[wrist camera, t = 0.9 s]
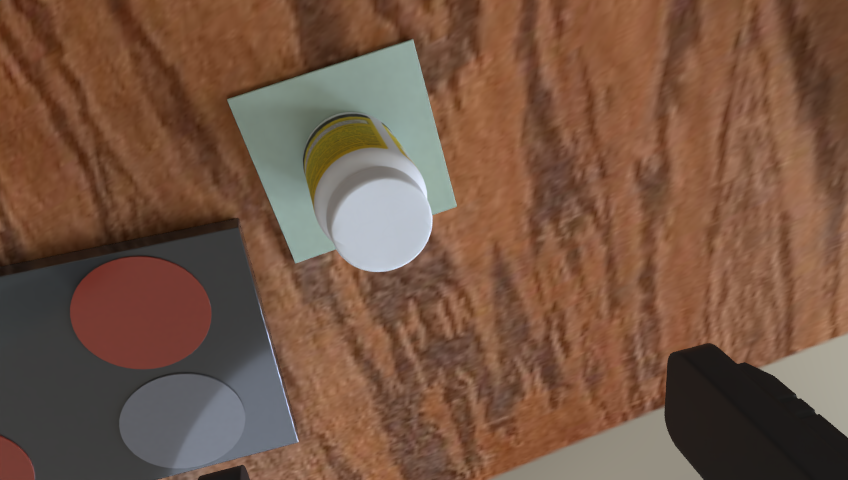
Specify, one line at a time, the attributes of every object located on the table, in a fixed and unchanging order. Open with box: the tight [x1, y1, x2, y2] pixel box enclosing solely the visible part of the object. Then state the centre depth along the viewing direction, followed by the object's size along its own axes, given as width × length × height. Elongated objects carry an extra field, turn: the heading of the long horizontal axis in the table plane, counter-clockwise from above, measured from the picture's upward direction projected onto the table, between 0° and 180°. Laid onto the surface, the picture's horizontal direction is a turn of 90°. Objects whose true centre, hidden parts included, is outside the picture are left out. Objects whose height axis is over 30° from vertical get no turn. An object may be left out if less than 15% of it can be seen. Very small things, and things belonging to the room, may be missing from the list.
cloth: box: [227, 39, 457, 263], centre depth 32 cm, size 9×9×1 cm
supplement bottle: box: [303, 112, 432, 272], centre depth 28 cm, size 5×5×8 cm
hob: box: [0, 218, 298, 480], centre depth 33 cm, size 14×22×1 cm, turn 97°
